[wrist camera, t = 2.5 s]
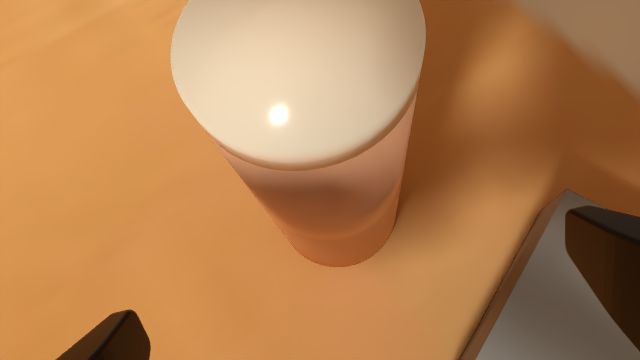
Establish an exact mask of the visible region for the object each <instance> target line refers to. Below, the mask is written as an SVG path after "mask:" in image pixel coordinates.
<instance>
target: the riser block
mask: <svg viewBox="0 0 640 360" xmlns="http://www.w3.org/2000/svg"><path fill="white" fill-rule="evenodd" d="M585 205H591V206H595V207H599V208H603V209H606V208H604V207H602V206H600V205H598V204H596V203H594V202H592V201H590V200H588V199H586V198H584V197H582V196H580V195H578V194H576V193H574V192H572V191H570V190H568V189H566V190H565V191H564V192H563V193H562V194H560V195H559V196H558V197H557V198H556V199H554V200H553V201H552V202H551V203H550V204H548V205H547V206H546V207H545V208H543V209H542V210H541V211H540V213H539V215H538V217H537V219H536V221H535V222H534V224H533V226H532V228H531V230H530V232H529V233H528V235H527V237H526V239H525V241H524V243H523V244H522V246H521V248H520V250H519V252H518V254H517V255H516V257H515V259H514V261H513V263H512V265H511V266H510V268H509V270H508V272H507V274H506V276H505V277H504V279H503V281H502V283H501V285H500V287H499V288H498V290H497V292H496V294H495V296H494V298H493V299H492V301H491V303H490V305H489V307H488V309H487V310H486V312H485V314H484V316H483V318H482V320H481V321H480V323H479V325H478V327H477V329H476V331H475V332H474V334H473V336H472V338H471V340H470V342H469V343H468V345H467V347H466V349H465V351H464V353H463V354H462V356H461V358H460V360H640V352H639V350H638V349H637V348H636V347H635V346H634V345H633V343H632V342H631V341H630V340H629V339H628V337H627V336H626V335H625V334H624V333H623V332H622V330H621V329H620V328H619V327H618V326H617V324H616V323H615V322H614V321H613V319H612V318H611V317H610V315H609V314H608V313H607V311H606V310H605V309H604V307H603V306H602V304H601V303H600V301H599V300H598V298H597V297H596V295H595V294H594V292H593V291H592V289H591V288H590V286H589V285H588V284H587V282H586V281H585V279H584V278H583V276H582V275H581V273H580V272H579V270H578V269H577V267H576V266H575V264H574V263H573V261H572V260H571V258H570V257H569V255H568V253H567V251H566V247H565V214H566V212H567V211H568V210H569V209H572V208H576V207H580V206H585Z"/></svg>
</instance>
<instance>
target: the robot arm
mask: <svg viewBox="0 0 640 360" xmlns="http://www.w3.org/2000/svg"><path fill="white" fill-rule="evenodd" d="M565 247H566V251H567V253H568V255H569V257H570V258H571V260H572V261H573V263H574V264H575V266H576V267H577V269H578V270H579V272H580V273H581V275H582V276H583V278H584V279H585V281H586V282H587V284H588V285H589V286H590V288H591V289H592V291H593V292H594V294H595V295H596V297H597V298H598V300H599V301H600V303H601V304H602V306H603V307H604V309H605V310H606V311H607V313H608V314H609V315H610V317H611V318H612V319H613V321H614V322H615V323H616V324H617V326H618V327H619V328H620V329H621V330H622V332H623V333H624V334H625V335H626V336H627V337H628V339H629V340H630V341H631V342H632V343H633V345H634V346H635V347H636V348H637V349H638V350H639V352H640V217H637V216H633V215H628V214H624V213H620V212H616V211H612V210H608V209H603V208H599V207H595V206H591V205H585V206H580V207H576V208H572V209H569V210H568V211H567V212H566V214H565ZM150 349H151V348H150V340H149V338H148V335H147V333H146V331H145V329H144V327H143V325H142V323H141V321H140V319H139V317H138V315H137V314H136V312H135V311H133V310H125V311H120V312H116V313H113V314H111V315H109V316H108V317H107V318H106V319H105V320H103V321H102V322H101V323H100V324H99V325H97V326H96V327H95V328H94V329H92V330H91V331H90V332H89V333H88V334H86V335H85V336H84V337H83V338H82V339H80V340H79V341H78V342H77V343H75V344H74V345H73V346H72V347H71V348H69V349H68V350H67V351H66V352H64V353H63V354H62V355H61V356H60V357H58V358H57V359H56V360H149V357H150Z"/></svg>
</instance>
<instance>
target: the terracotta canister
mask: <svg viewBox="0 0 640 360" xmlns="http://www.w3.org/2000/svg"><path fill="white" fill-rule="evenodd" d="M425 44H426V26H425V18H424V14H423V10H422V6H421V4H420V2H419V0H189V1H188V3H187V4H186V6H185V7H184V9H183V11H182V13H181V15H180V17H179V19H178V22H177V24H176V28H175V31H174V34H173V39H172V45H171V68H172V74H173V79H174V82H175V85H176V88H177V90H178V92H179V94H180V96H181V98H182V100H183V102H184V103H185V105H186V106H187V107H188V109H189V110H190V111H191V113H192V114H193V115H194V117H195V118H196V119H197V121H198V122H199V123H200V125H201V126H202V127H203V129H204V130H205V131H206V133H207V134H208V135H209V137H210V138H211V139H212V140H213V142H214V143H215V144H216V146H217V147H218V148H219V150H220V151H221V152H222V154H223V155H224V156H225V158H226V159H227V160H228V161H229V163H230V164H231V165H232V167H233V168H234V169H235V171H236V172H237V173H238V175H239V176H240V177H241V179H242V180H243V181H244V183H245V184H246V185H247V186H248V188H249V189H250V190H251V192H252V193H253V194H254V196H255V197H256V198H257V200H258V201H259V202H260V204H261V205H262V206H263V207H264V209H265V210H266V211H267V213H268V214H269V215H270V217H271V218H272V219H273V221H274V222H275V223H276V225H277V226H278V227H279V229H280V230H281V231H282V232H283V234H284V235H285V236H286V238H287V239H288V240H289V242H290V243H291V244H292V246H293V247H294V248H295V249H296V250H297V251H298V252H299V253H300V254H301V255H303V256H304V257H305V258H307V259H309V260H310V261H312V262H315V263H317V264H320V265H324V266H329V267H346V266H351V265H355V264H358V263H360V262H363V261H365V260H367V259H368V258H370V257H372V256H373V255H374V254H375V253H377V252H378V251H379V250H380V249H381V248H382V247H383V245H384V244H385V243H386V241H387V240H388V238H389V236H390V234H391V232H392V229H393V227H394V222H395V218H396V212H397V206H398V201H399V195H400V189H401V183H402V178H403V172H404V166H405V161H406V155H407V149H408V143H409V138H410V132H411V126H412V120H413V115H414V109H415V103H416V98H417V92H418V86H419V80H420V75H421V69H422V63H423V58H424V52H425Z"/></svg>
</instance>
